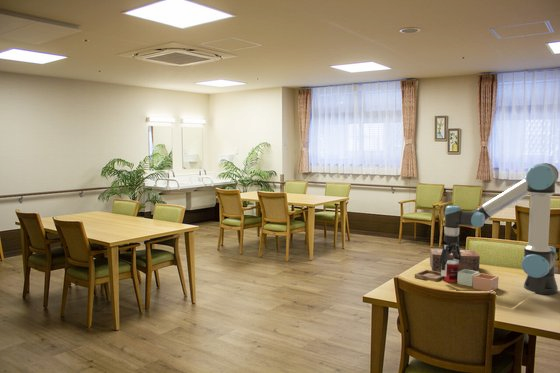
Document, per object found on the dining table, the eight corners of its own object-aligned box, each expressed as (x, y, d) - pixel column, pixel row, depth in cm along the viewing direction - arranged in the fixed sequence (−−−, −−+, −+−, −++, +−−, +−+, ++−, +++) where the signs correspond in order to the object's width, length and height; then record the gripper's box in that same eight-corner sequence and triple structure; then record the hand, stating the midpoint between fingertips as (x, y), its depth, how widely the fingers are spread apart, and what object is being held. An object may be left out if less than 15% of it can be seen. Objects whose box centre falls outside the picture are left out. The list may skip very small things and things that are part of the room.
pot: (497, 289, 244) (498, 276, 244) (490, 293, 238) (491, 280, 238) (480, 286, 251) (480, 273, 250) (472, 289, 245) (473, 276, 244)
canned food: (445, 278, 264) (445, 259, 262) (460, 281, 258) (460, 261, 257) (440, 282, 258) (440, 262, 257) (455, 284, 253) (455, 264, 252)
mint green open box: (478, 284, 253) (479, 271, 252) (472, 288, 247) (472, 274, 247) (464, 281, 259) (464, 269, 258) (457, 284, 253) (457, 271, 252)
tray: (447, 277, 266) (447, 274, 266) (436, 282, 257) (436, 278, 257) (426, 273, 275) (426, 269, 275) (414, 277, 266) (414, 274, 266)
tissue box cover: (474, 266, 289) (475, 250, 288) (479, 273, 275) (479, 256, 274) (429, 264, 294) (430, 248, 293) (432, 270, 280) (432, 254, 279)
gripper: (455, 230, 267) (453, 267, 269) (433, 236, 250) (431, 276, 252) (468, 232, 262) (466, 270, 264) (447, 239, 244) (445, 279, 246)
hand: (449, 273), depth 258 cm, fingers open, 13 cm apart
